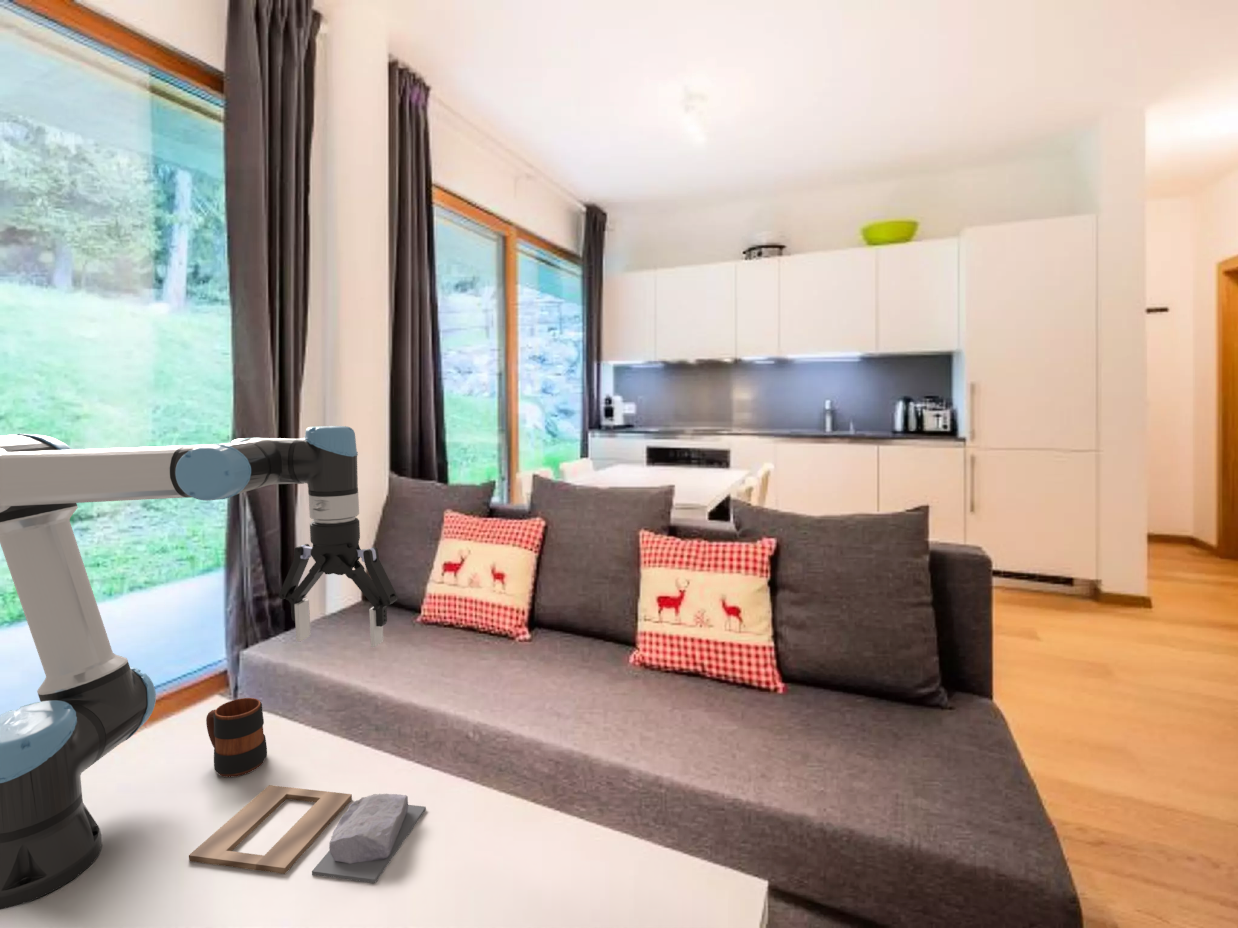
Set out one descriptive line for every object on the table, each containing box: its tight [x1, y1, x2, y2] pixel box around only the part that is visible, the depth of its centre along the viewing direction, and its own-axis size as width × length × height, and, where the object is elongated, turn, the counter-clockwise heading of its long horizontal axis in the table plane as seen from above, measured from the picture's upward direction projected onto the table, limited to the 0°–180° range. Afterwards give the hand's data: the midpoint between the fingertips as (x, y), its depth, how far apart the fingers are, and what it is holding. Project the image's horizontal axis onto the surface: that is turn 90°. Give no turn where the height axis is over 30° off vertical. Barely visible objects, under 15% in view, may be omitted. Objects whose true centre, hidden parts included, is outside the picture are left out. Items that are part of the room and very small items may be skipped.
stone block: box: [328, 793, 409, 864], centre depth 96 cm, size 12×5×10 cm
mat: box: [311, 804, 427, 884], centre depth 96 cm, size 10×16×1 cm, turn 172°
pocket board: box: [188, 784, 353, 875], centre depth 99 cm, size 16×17×1 cm
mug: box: [205, 697, 268, 778], centre depth 116 cm, size 9×12×12 cm
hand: (340, 641), depth 103 cm, fingers open, 13 cm apart
